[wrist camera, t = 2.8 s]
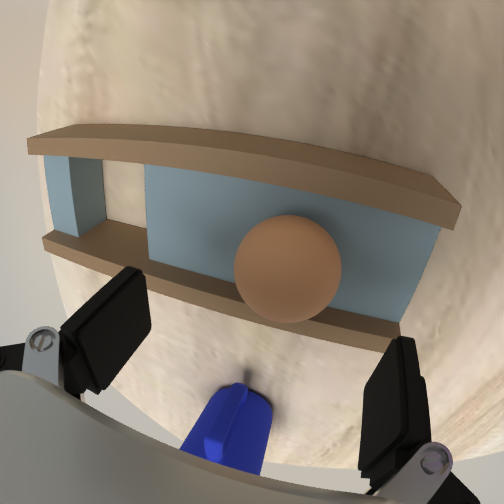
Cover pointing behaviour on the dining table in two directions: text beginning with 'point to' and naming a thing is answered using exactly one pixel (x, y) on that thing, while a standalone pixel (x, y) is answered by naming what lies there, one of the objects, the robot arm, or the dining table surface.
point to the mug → (232, 430)
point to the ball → (287, 268)
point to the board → (246, 218)
